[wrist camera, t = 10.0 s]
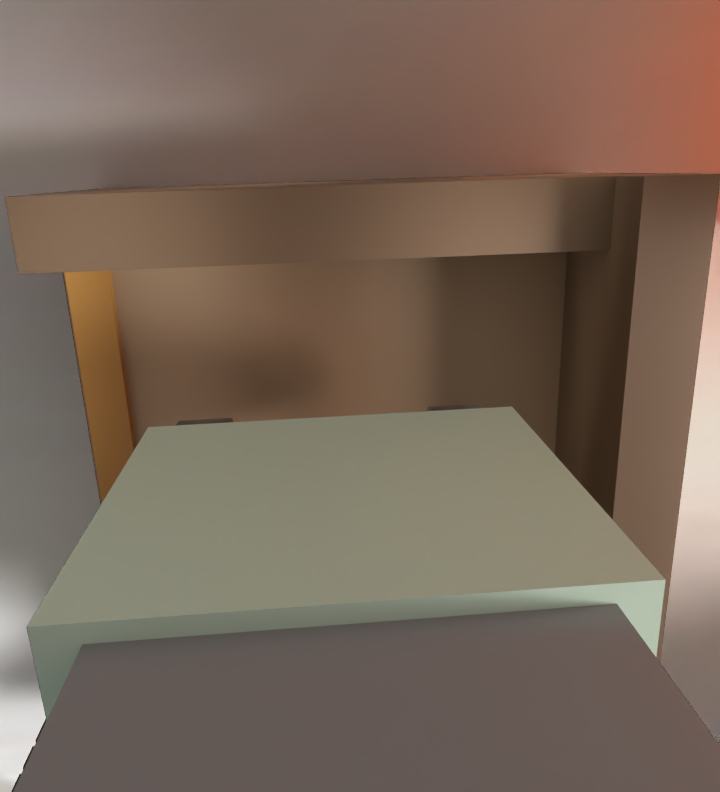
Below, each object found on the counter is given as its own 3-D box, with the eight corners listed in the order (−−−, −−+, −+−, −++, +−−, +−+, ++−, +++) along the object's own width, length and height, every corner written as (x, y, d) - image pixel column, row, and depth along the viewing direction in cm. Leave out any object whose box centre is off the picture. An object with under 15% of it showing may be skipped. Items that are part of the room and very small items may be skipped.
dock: (575, 172, 16) (721, 173, 11) (544, 666, 21) (635, 856, 15) (96, 188, 16) (-25, 199, 10) (169, 696, 20) (114, 907, 14)
